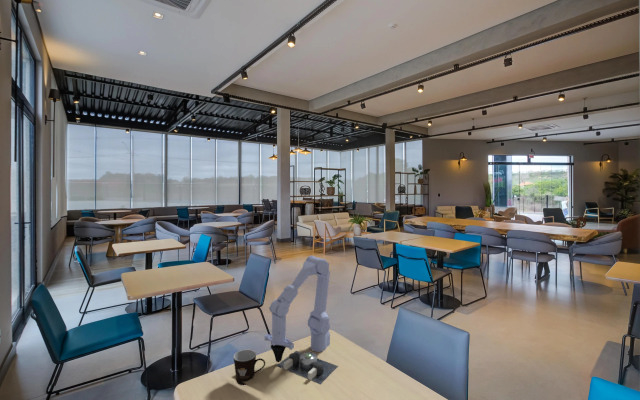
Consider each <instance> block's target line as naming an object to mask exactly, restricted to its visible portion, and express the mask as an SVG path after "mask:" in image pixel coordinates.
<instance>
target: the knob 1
mask: <svg viewBox="0 0 640 400" xmlns="http://www.w3.org/2000/svg"><path fill="white" fill-rule="evenodd" d="M298 364H299V354H298V353H294V352H291V353H290V354H289V359H288V360H287V361H286V362H284V369H283V370H286V371H287V369H289V368H290V367H291V366H292V365H293V366H295V365H298Z"/></svg>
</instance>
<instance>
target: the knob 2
mask: <svg viewBox="0 0 640 400" xmlns="http://www.w3.org/2000/svg"><path fill="white" fill-rule="evenodd" d="M321 374H323V363H322V362H314V363H313V368H312V369H311V370H310V371H309V372H308V379H307V380H309V381H311V380H312V379H313V378H314V377H315V376H316V375H321Z"/></svg>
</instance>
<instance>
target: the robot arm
mask: <svg viewBox="0 0 640 400" xmlns="http://www.w3.org/2000/svg"><path fill="white" fill-rule="evenodd" d="M329 268H330V263H329V262H328V261H327V260H326V259H325V258H321V257H317V256H314V255H309V256H308V257H306V259H305V260H304V262H303V264H302V268H301V269H300V271H299V272H298V274H297V276H295V278H294V280H293V281H292V283H291V284H287V285H286V286H285V287H284V288H283V291H282V292H281V293H280V294H279V296H278V297H277V298H276V299H274V300H273V301H272V302H271V303H270V306H269V307H268V308H269V312H270V313H271V334H268V333H267V334H265V335H264V341H268V342H270V349H271V350H272V352H273V355H274V358H275V362H277V363H280V362H282V361H283V360H282V359H283V356H284V353H285V350H286V348H288V349H289V350H290V351H292V350H293V349H294V348H295V343H293V342H292V341H290V339H288V338H286V337H287V333H286V331H287V329H286V328H287V321H286V318H287V314H288V313H289V309H290V306H291V304H292V302H293V301H294V299H296V297H297V295H298V294H299V290H298V289H300V288H301V287H302V285H303V284H304V282H306V280H307V279H308V278H309V276H316V278H317V280H316V288H315V298H314V304H313V305H314V306H313V309H314V310H312V311H311V312H310V314H309V317H308V320H307V326H308V328H309V330H310V349H311V351H312V352H313V351H314V352H317V353H319V352H323V351H326V350H327V347H329V346H331V333H330V328H331V324H330V318H329V315H328V313H327V303H328V302H327V301H328V292H329V283H330V269H329Z"/></svg>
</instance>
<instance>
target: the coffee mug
mask: <svg viewBox="0 0 640 400" xmlns="http://www.w3.org/2000/svg"><path fill="white" fill-rule="evenodd" d="M258 361H262V362H263V365H262V366H261V367H260V368H258V369H257V370H255V367H256V364H257V362H258ZM233 365H234V371H235V378H236V379H235V380H236V384H237V385H240V386H247V385H248V384H247V383H246V382H249V381H251V380H252V379H253V378H254V375H255V374H257V373H259V372H260V371H261V370H262V369H264V367H265V366H266V361H265V359H263V358H261V357H259V358H257V352H256V351H255V350H254V349H248V348H247V349H241V350H238V351H237V352H235V353H234V354H233Z"/></svg>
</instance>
